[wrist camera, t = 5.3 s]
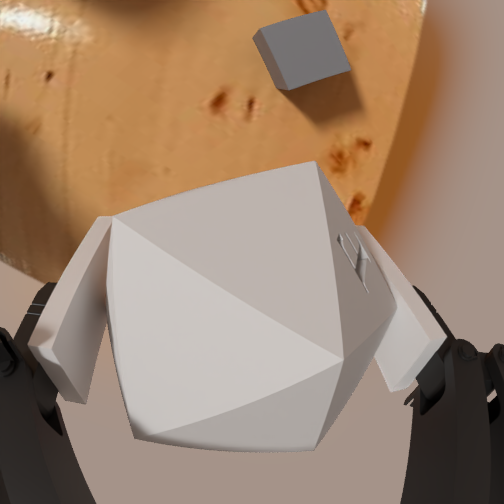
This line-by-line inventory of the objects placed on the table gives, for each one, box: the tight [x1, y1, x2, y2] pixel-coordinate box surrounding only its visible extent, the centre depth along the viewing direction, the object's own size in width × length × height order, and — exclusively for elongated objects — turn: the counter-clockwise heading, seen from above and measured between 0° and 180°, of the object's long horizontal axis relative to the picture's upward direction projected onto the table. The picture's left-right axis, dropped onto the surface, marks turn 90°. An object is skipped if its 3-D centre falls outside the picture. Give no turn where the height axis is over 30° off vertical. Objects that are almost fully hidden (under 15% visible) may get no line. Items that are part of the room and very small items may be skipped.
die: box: [105, 161, 398, 452], centre depth 9 cm, size 8×9×10 cm
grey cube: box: [253, 10, 351, 90], centre depth 18 cm, size 5×5×5 cm
